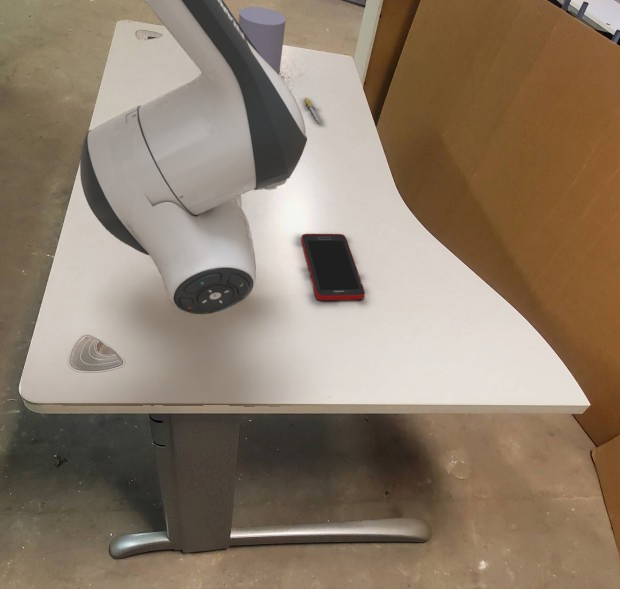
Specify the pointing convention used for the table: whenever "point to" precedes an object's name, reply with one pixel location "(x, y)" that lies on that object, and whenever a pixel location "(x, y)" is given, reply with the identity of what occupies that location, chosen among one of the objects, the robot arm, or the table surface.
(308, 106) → the dagger
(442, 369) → the table surface
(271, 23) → the container
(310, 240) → the cell phone
